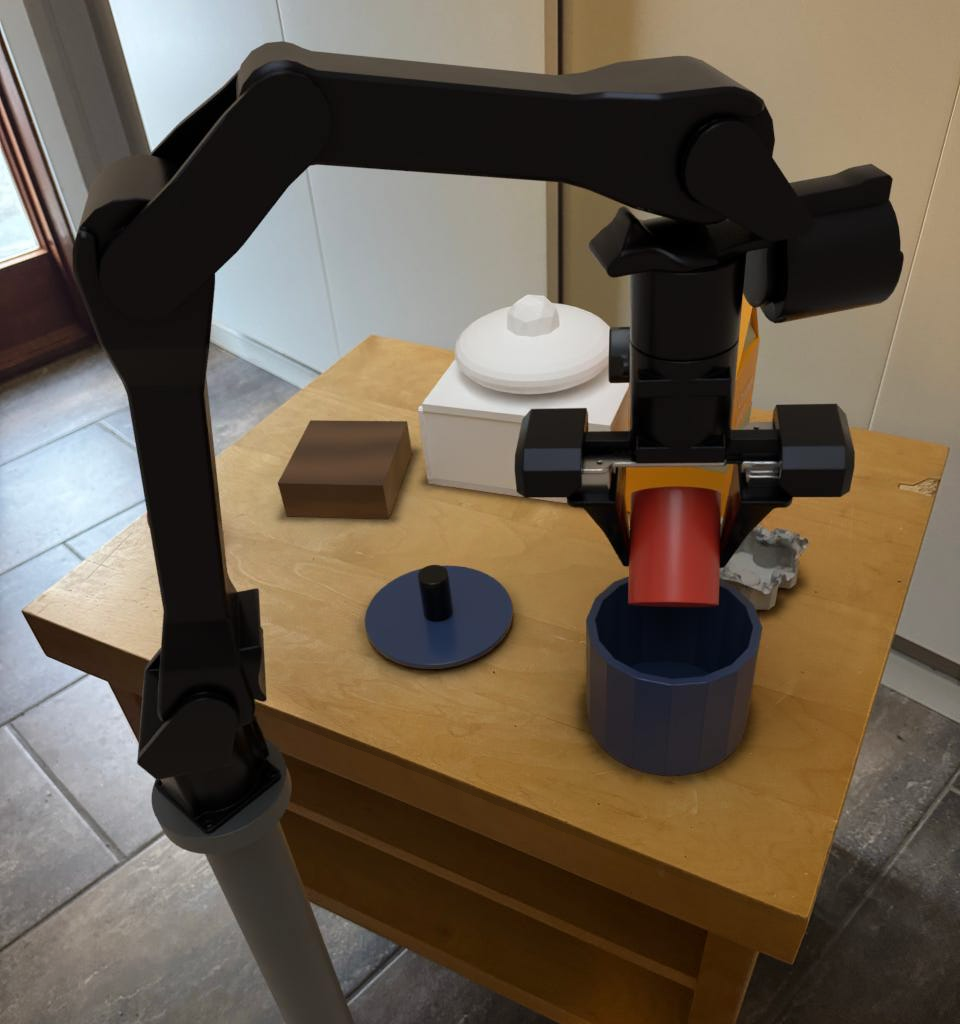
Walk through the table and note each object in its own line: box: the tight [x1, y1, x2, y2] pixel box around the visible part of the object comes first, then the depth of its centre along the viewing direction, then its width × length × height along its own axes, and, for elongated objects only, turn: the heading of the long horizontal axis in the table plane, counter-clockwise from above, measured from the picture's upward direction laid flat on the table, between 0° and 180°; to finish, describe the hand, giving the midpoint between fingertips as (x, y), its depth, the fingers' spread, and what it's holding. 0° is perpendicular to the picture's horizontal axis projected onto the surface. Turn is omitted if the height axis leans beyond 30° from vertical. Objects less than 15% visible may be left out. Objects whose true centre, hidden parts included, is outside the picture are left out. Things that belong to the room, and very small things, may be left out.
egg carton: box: [719, 517, 809, 611], centre depth 79 cm, size 11×8×4 cm
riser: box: [277, 419, 413, 520], centre depth 93 cm, size 11×10×4 cm
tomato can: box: [628, 486, 721, 607], centre depth 61 cm, size 6×6×7 cm
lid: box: [364, 564, 514, 670], centre depth 77 cm, size 12×12×5 cm
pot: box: [585, 575, 763, 777], centre depth 67 cm, size 11×11×9 cm
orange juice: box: [624, 294, 761, 517], centre depth 82 cm, size 8×9×20 cm
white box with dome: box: [417, 293, 629, 504], centre depth 91 cm, size 18×18×16 cm
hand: (673, 562), depth 62 cm, fingers closed on tomato can, 5 cm apart
